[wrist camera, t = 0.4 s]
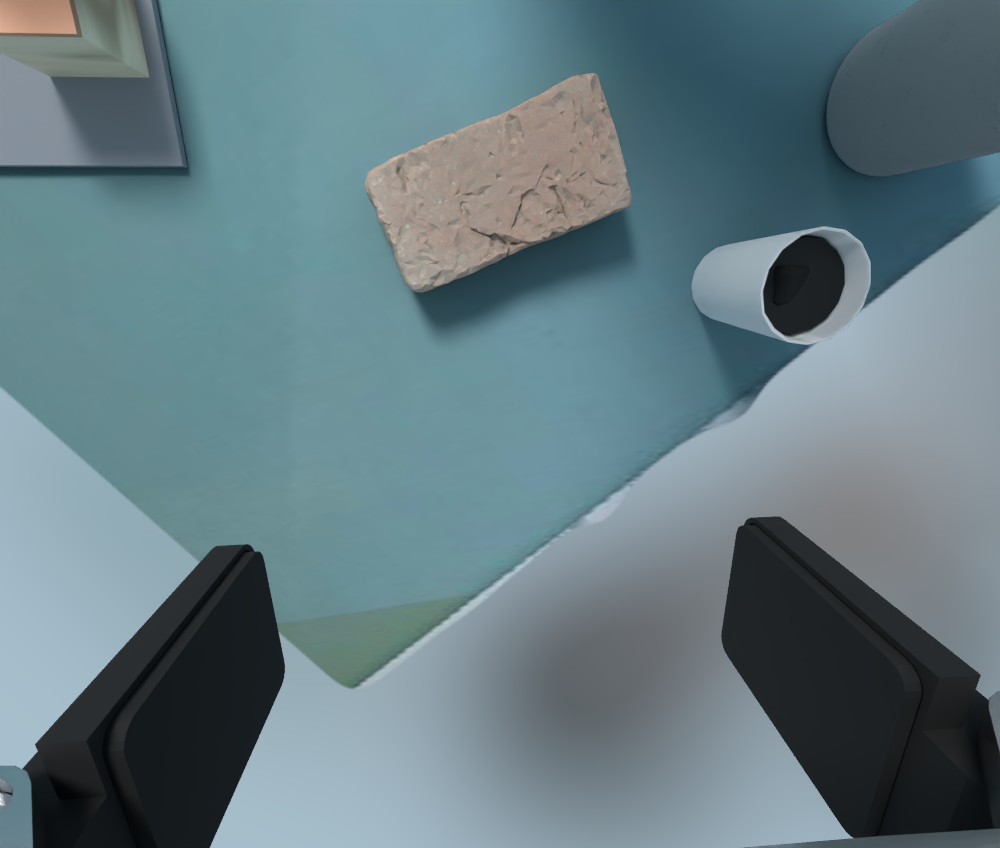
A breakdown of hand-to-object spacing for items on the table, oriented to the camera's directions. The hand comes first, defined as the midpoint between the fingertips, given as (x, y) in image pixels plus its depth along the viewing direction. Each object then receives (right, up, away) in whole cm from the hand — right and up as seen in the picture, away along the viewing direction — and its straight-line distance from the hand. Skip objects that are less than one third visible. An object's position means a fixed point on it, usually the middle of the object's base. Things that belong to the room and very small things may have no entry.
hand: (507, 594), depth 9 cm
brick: (0, +20, +26) cm, 32 cm away
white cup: (+18, +14, +28) cm, 36 cm away
